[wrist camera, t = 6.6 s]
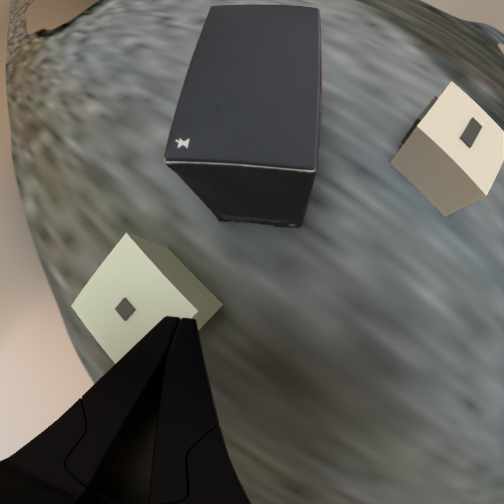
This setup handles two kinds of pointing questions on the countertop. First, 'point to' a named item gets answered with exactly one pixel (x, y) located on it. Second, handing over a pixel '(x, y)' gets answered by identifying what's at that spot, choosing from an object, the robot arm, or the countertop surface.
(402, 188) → the countertop surface
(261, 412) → the countertop surface
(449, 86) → the cream block seven
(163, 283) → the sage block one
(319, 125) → the small box
